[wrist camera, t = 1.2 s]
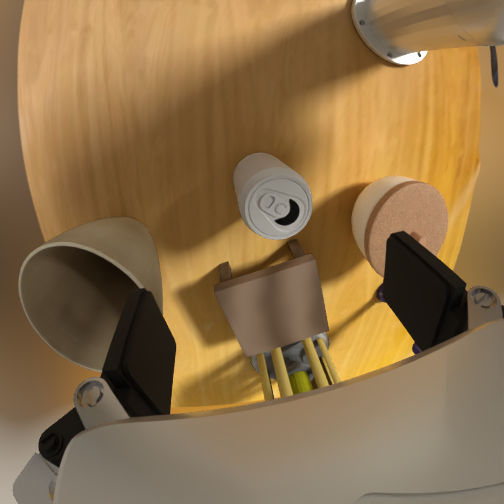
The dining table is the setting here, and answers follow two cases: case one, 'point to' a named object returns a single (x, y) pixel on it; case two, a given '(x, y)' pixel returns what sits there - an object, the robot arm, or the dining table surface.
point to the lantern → (296, 367)
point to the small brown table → (274, 303)
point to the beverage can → (271, 196)
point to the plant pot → (88, 285)
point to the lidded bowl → (398, 216)
